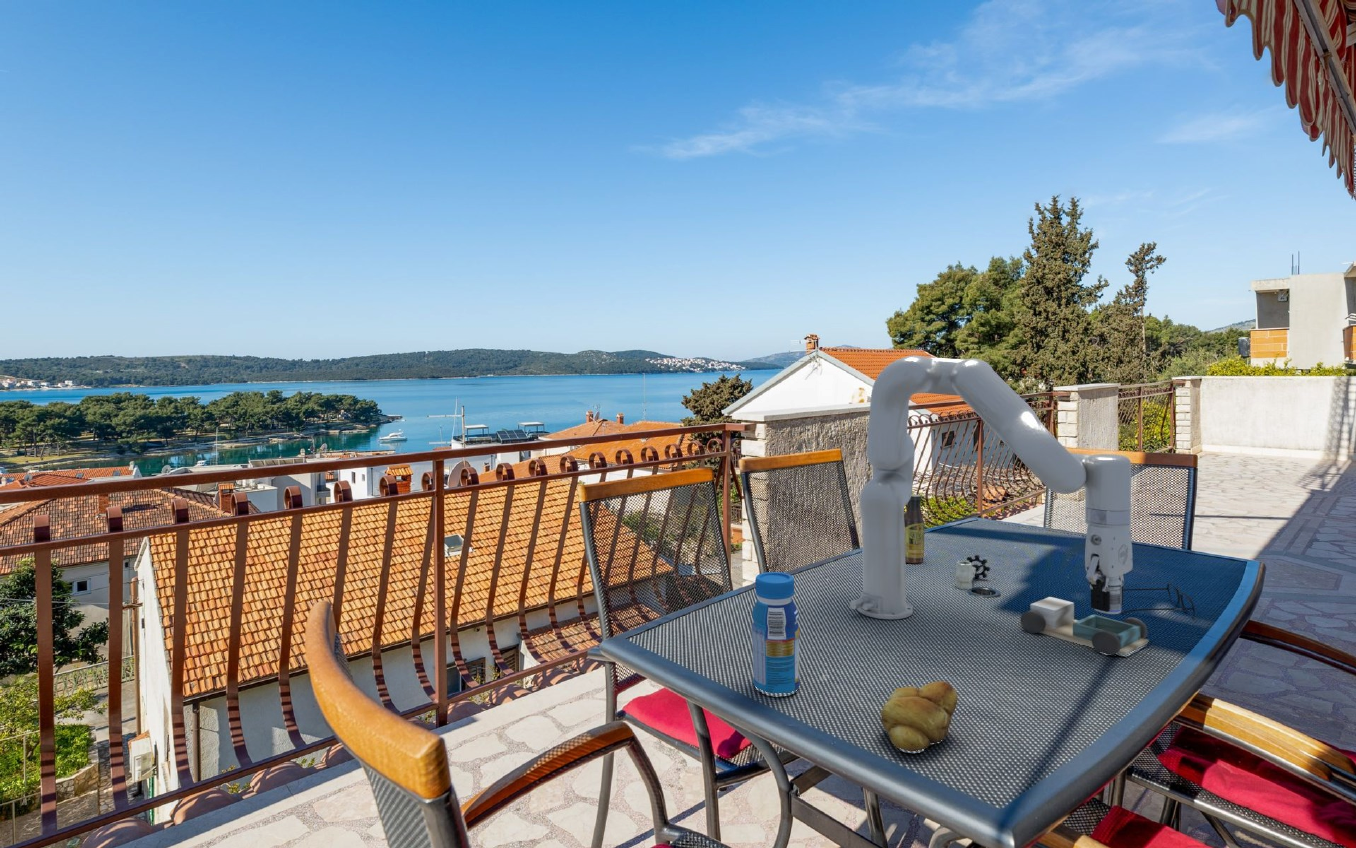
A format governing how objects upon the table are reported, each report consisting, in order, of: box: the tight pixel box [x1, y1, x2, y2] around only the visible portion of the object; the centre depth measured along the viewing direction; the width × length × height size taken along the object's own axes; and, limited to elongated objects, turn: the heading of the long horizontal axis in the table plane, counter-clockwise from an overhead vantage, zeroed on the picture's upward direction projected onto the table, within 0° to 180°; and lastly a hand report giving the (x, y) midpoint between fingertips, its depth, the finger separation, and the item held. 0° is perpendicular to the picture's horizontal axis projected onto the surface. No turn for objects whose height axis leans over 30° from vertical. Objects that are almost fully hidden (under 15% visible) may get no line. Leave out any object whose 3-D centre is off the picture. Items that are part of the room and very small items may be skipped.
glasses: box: [1120, 582, 1196, 617], centre depth 149 cm, size 14×15×5 cm
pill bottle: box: [1094, 571, 1122, 615], centre depth 128 cm, size 5×5×8 cm
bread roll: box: [880, 680, 959, 751], centre depth 97 cm, size 13×10×8 cm
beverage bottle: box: [750, 571, 801, 693], centre depth 113 cm, size 8×8×20 cm
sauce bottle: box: [904, 493, 926, 564], centre depth 190 cm, size 6×6×20 cm
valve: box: [954, 554, 991, 591], centre depth 168 cm, size 7×7×12 cm
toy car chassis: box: [1020, 596, 1150, 656], centre depth 133 cm, size 13×20×5 cm, turn 33°
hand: (1106, 605), depth 129 cm, fingers closed on pill bottle, 4 cm apart
